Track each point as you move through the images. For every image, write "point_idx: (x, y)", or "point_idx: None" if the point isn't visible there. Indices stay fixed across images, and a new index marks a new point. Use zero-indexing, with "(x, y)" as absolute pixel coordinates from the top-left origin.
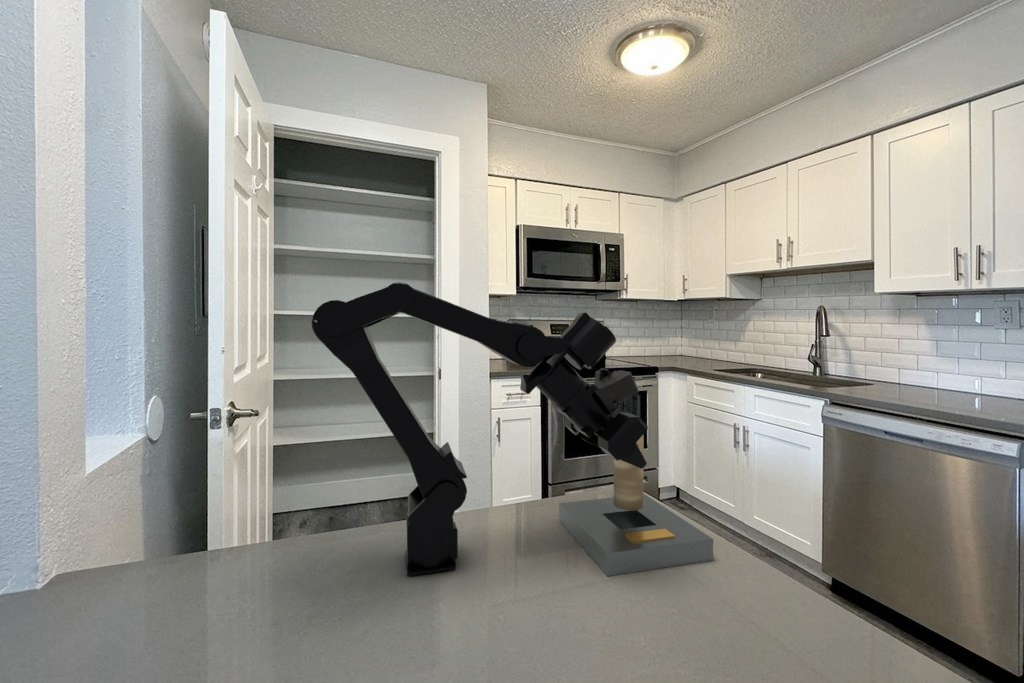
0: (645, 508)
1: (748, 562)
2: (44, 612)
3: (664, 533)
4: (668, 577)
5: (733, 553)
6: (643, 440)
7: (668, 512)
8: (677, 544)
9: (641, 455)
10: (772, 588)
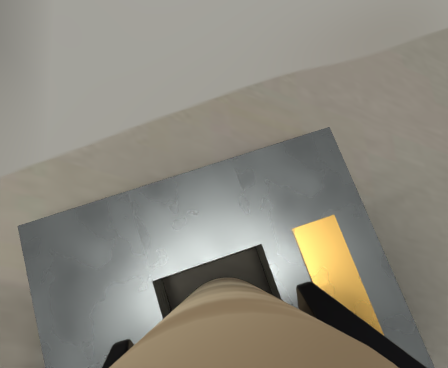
0: (141, 250)
1: (306, 81)
2: None
3: (323, 238)
4: (392, 256)
5: (271, 94)
6: (282, 302)
7: (170, 189)
8: (369, 219)
9: (369, 329)
10: (396, 79)
